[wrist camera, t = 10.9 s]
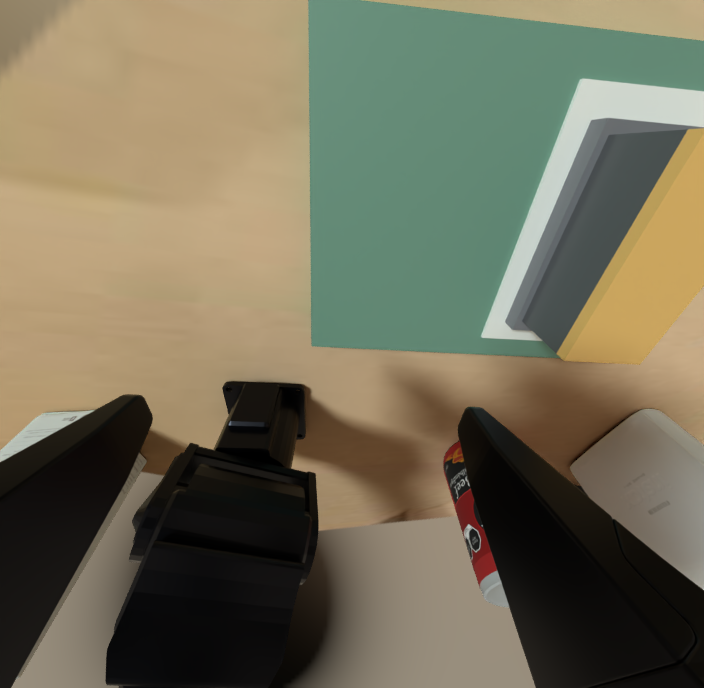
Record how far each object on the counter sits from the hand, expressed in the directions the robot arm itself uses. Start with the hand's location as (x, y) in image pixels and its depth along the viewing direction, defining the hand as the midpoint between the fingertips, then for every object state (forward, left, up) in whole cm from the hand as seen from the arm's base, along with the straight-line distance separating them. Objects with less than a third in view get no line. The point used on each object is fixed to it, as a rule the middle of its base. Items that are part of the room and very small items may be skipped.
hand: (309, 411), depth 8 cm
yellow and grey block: (+3, -14, -9) cm, 17 cm away
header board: (+3, -9, -12) cm, 15 cm away
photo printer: (-16, -29, -12) cm, 35 cm away
